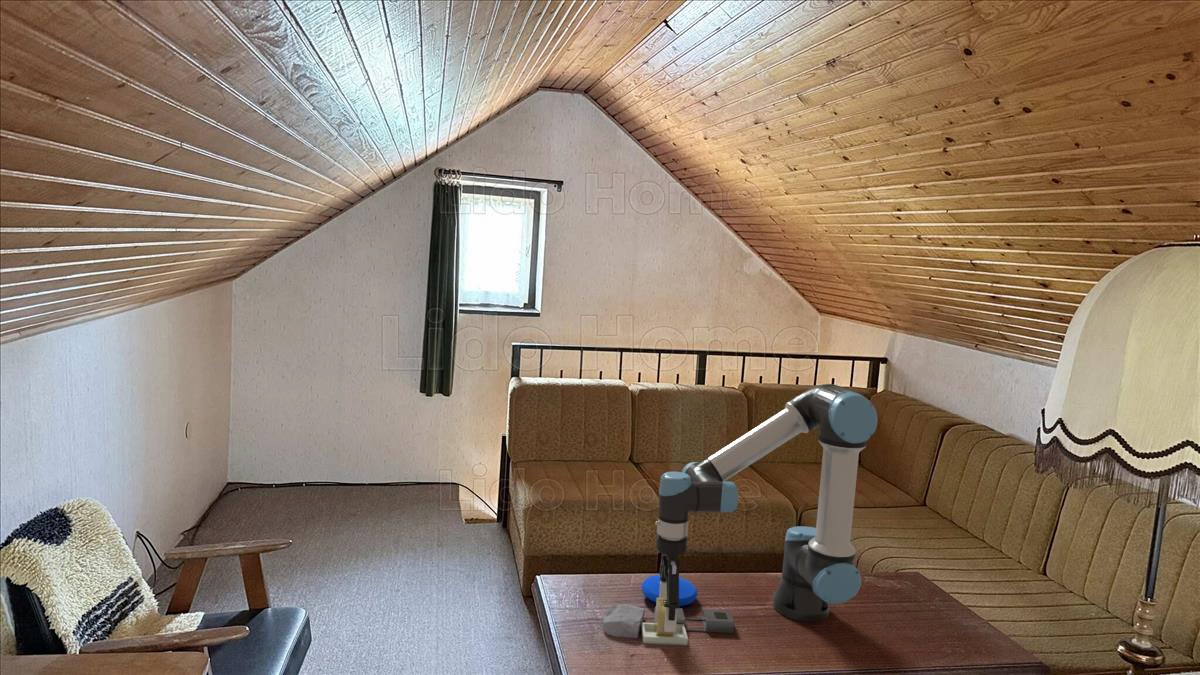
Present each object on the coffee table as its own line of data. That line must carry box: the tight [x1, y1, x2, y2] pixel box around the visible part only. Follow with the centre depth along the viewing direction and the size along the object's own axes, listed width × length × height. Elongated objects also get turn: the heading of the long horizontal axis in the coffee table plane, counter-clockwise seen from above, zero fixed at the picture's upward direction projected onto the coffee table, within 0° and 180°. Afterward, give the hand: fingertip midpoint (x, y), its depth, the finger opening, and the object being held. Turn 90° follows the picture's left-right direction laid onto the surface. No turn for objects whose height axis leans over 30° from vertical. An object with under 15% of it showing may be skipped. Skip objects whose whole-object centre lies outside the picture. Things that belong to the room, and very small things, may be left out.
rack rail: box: [653, 606, 735, 634], centre depth 189 cm, size 20×6×3 cm, turn 92°
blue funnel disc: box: [641, 574, 698, 607], centre depth 202 cm, size 16×16×7 cm
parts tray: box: [640, 621, 689, 647], centre depth 182 cm, size 11×7×2 cm, turn 92°
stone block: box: [602, 603, 645, 639], centre depth 186 cm, size 12×5×10 cm
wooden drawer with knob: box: [654, 597, 673, 637], centre depth 181 cm, size 4×4×9 cm
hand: (666, 618), depth 181 cm, fingers open, 12 cm apart
